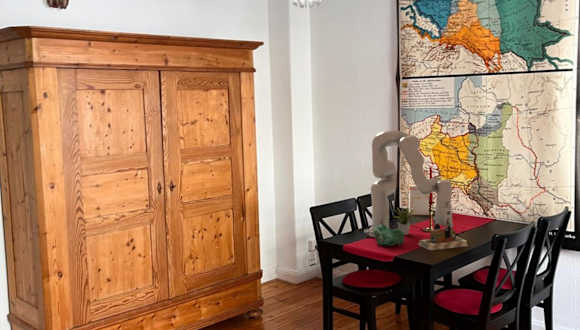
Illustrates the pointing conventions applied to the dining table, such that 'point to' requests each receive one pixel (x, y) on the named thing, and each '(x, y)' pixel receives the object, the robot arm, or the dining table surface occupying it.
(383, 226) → the mineral
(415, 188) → the coffeecake box
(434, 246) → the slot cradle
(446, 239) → the tin
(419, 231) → the dining table surface
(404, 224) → the house plant
